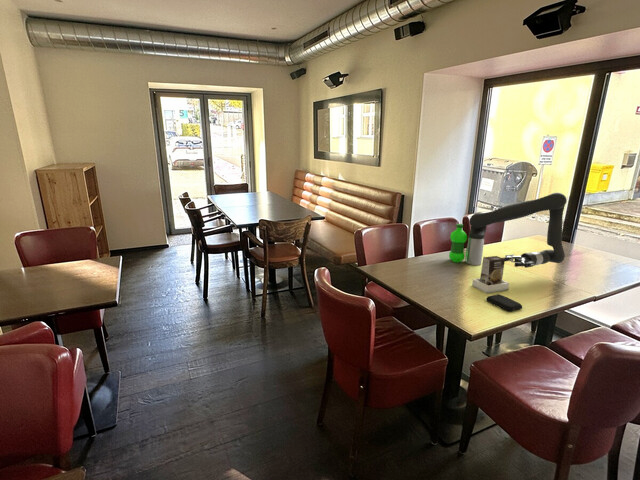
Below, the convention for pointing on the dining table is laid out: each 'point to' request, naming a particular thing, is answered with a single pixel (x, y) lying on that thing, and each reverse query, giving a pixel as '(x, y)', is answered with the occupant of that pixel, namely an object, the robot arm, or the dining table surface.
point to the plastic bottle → (457, 244)
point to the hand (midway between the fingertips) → (508, 262)
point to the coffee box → (492, 270)
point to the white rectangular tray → (490, 286)
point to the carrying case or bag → (504, 303)
